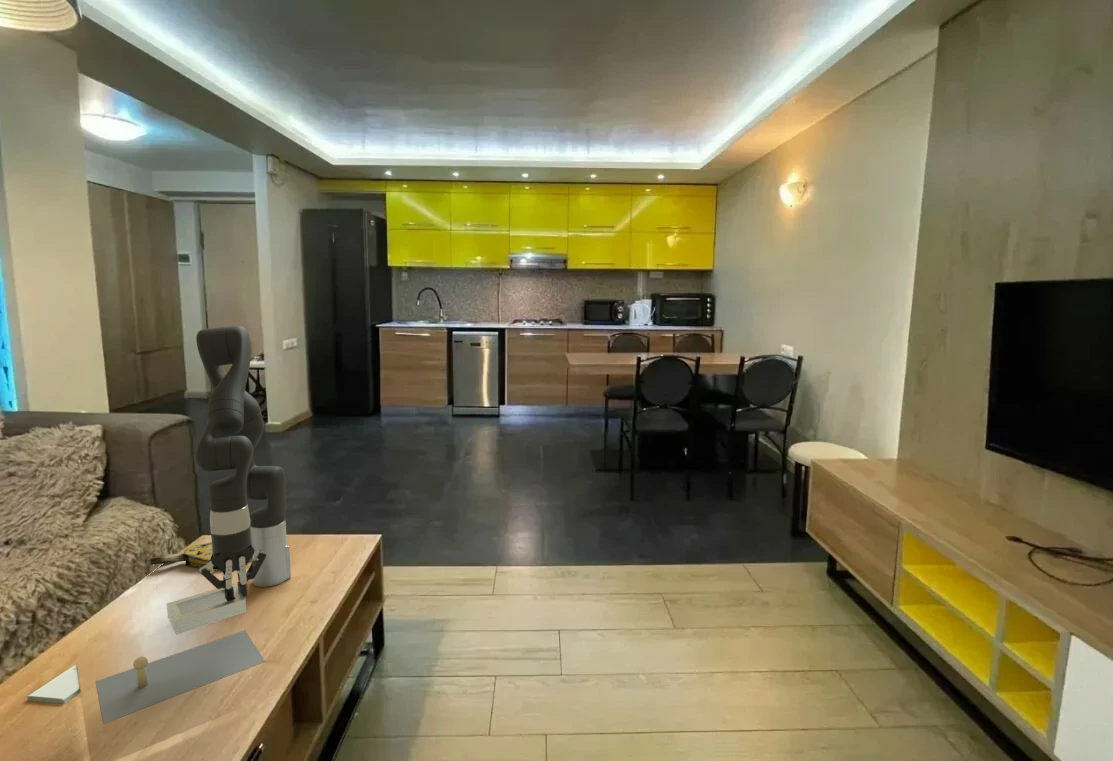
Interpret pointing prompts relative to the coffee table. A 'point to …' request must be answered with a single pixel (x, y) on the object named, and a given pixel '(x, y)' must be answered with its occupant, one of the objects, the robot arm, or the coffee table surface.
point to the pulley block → (188, 556)
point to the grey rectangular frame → (204, 609)
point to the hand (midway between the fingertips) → (236, 600)
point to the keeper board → (174, 674)
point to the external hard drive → (59, 688)
